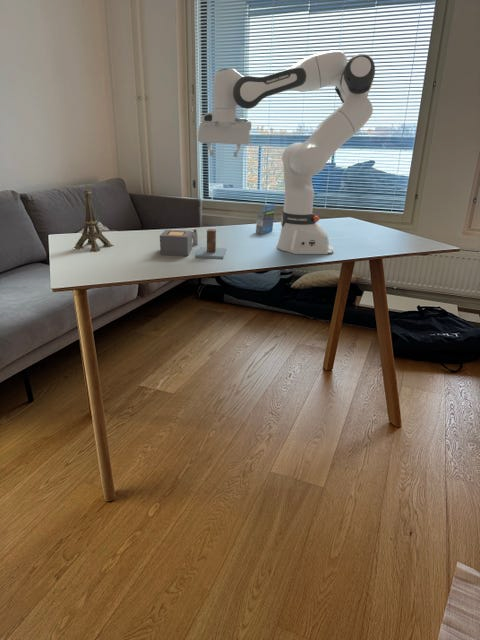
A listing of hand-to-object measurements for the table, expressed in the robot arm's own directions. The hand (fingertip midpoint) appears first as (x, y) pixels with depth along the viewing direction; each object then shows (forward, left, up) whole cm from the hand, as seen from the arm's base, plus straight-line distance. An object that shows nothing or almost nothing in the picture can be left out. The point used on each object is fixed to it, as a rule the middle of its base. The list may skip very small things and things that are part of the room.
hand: (223, 156), depth 168 cm
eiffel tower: (+47, +24, -33) cm, 62 cm away
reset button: (+15, +25, -29) cm, 41 cm away
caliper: (+13, +4, -33) cm, 36 cm away
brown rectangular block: (+2, +25, -32) cm, 41 cm away
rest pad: (+2, +25, -33) cm, 41 cm away
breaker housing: (+15, +25, -33) cm, 44 cm away
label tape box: (-18, -17, -33) cm, 41 cm away
